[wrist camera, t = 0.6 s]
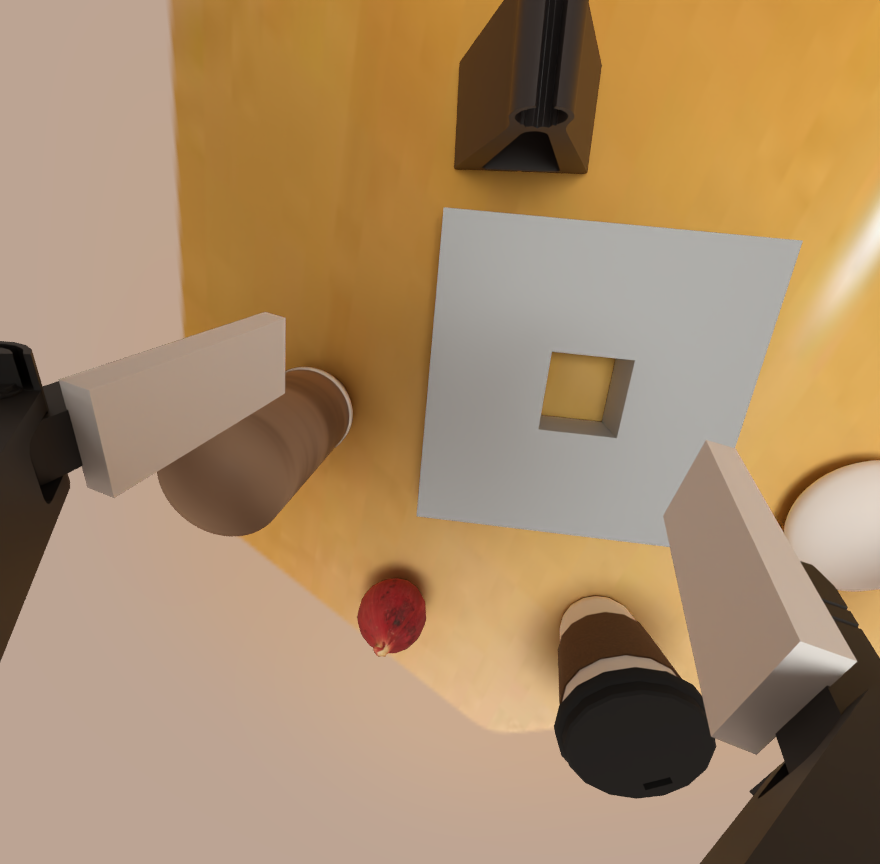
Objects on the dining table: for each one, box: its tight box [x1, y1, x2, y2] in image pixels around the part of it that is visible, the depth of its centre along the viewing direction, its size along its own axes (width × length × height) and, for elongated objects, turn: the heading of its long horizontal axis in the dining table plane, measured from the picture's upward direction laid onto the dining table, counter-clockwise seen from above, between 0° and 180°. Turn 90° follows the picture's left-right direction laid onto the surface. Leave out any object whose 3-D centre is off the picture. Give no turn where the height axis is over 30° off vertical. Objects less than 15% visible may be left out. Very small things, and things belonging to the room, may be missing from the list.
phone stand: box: [454, 0, 602, 174], centre depth 24 cm, size 9×6×12 cm, turn 87°
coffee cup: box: [554, 596, 716, 798], centre depth 36 cm, size 11×11×12 cm
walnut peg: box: [157, 367, 353, 536], centre depth 29 cm, size 7×7×16 cm
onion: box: [357, 578, 426, 657], centre depth 38 cm, size 6×6×8 cm
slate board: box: [417, 207, 803, 547], centre depth 33 cm, size 22×22×4 cm
